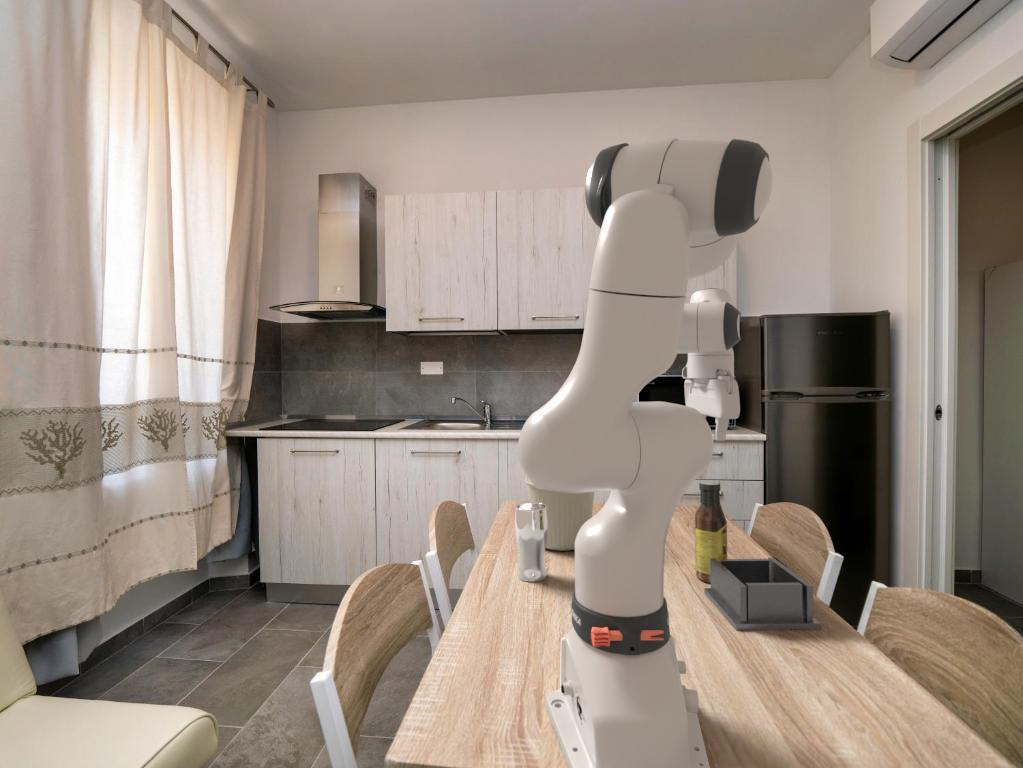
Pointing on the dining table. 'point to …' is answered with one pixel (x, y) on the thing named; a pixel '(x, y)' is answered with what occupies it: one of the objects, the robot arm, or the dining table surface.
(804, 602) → the square socket
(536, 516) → the beer glass
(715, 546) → the sauce bottle
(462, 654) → the dining table surface
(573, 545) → the canister
